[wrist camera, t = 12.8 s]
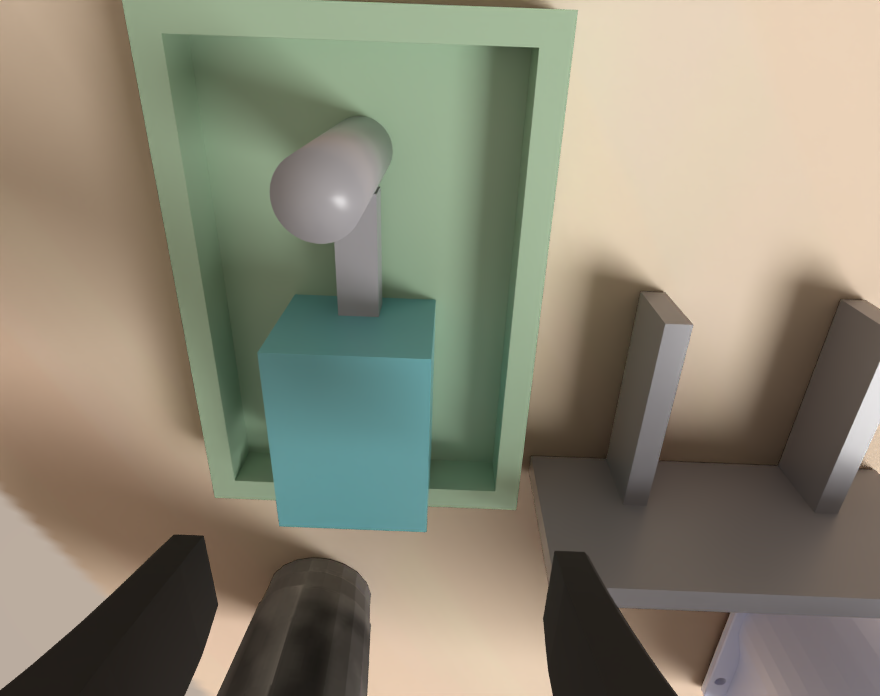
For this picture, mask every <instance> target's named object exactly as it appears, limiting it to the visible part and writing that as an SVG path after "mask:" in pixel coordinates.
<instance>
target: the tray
mask: <svg viewBox="0 0 880 696" xmlns="http://www.w3.org/2000/svg"><path fill="white" fill-rule="evenodd" d="M122 4H123V9H124V14H125V20H126V25H127V30H128V36H129V41H130V46H131V52H132V57H133V63H134V68H135V73H136V79H137V84H138V89H139V95H140V100H141V105H142V111H143V116H144V121H145V127H146V132H147V137H148V143H149V148H150V153H151V159H152V164H153V169H154V175H155V180H156V186H157V191H158V196H159V202H160V207H161V212H162V218H163V223H164V228H165V234H166V239H167V244H168V250H169V255H170V260H171V266H172V271H173V276H174V282H175V287H176V293H177V298H178V303H179V309H180V314H181V319H182V325H183V330H184V335H185V341H186V346H187V351H188V357H189V362H190V367H191V373H192V378H193V383H194V389H195V394H196V399H197V405H198V410H199V416H200V421H201V426H202V432H203V437H204V442H205V448H206V453H207V458H208V464H209V469H210V474H211V480H212V485H213V490H214V496H215V498H233V499H258V500H276V496H275V488H274V480H273V472H272V464H271V457H270V449H269V441H268V433H267V425H266V417H265V409H264V401H263V394H262V386H261V378H260V370H259V362H258V354H257V352H258V351H259V349H260V348H261V346H262V345H263V343H264V342H265V340H266V338H267V337H268V335H269V334H270V332H271V331H272V329H273V328H274V326H275V324H276V323H277V321H278V320H279V318H280V317H281V315H282V314H283V312H284V311H285V309H286V307H287V306H288V304H289V303H290V301H291V300H292V298H293V297H294V295H295V294H298V295H325V296H337V283H336V264H335V246H334V242H332V243H327V244H316V243H310V242H307V241H304V240H301V239H299V238H297V237H296V236H294V235H292V234H291V233H290V232H289V231H287V230H286V229H285V228H284V227H283V226H282V224H281V223H280V222H279V220H278V219H277V217H276V215H275V213H274V211H273V209H272V205H271V201H270V183H271V178H272V176H273V173H274V171H275V170H276V168H277V167H278V165H279V164H280V163H281V162H282V161H283V160H284V159H285V158H286V157H288V156H289V155H291V154H292V153H294V152H295V151H297V150H299V149H300V148H302V147H303V146H305V145H306V144H308V143H309V142H311V141H312V140H314V139H315V138H317V137H318V136H320V135H321V134H323V133H325V132H326V131H328V130H329V129H331V128H332V127H334V126H335V125H337V124H338V123H340V122H341V121H343V120H345V119H347V118H349V117H352V116H365V117H369V118H372V119H374V120H375V121H377V122H378V123H380V124H381V125H382V126H383V127H384V128H385V130H386V131H387V133H388V134H389V137H390V139H391V142H392V148H393V154H392V160H391V163H390V165H389V167H388V169H387V171H386V173H385V174H384V176H383V178H382V180H381V182H380V184H379V185H378V186H381V246H382V298H405V299H432V300H436V308H435V341H434V374H433V407H432V440H431V463H430V480H429V498H428V506H429V507H454V508H478V509H503V510H516V508H517V500H518V492H519V484H520V476H521V468H522V460H523V451H524V443H525V435H526V427H527V419H528V411H529V403H530V395H531V386H532V378H533V370H534V362H535V354H536V346H537V338H538V330H539V322H540V313H541V305H542V297H543V289H544V281H545V273H546V265H547V257H548V249H549V240H550V232H551V224H552V216H553V208H554V200H555V192H556V184H557V176H558V167H559V159H560V151H561V143H562V135H563V127H564V119H565V111H566V103H567V94H568V86H569V78H570V70H571V62H572V54H573V46H574V38H575V30H576V21H577V13H578V10H565V9H538V8H512V7H485V6H458V5H432V4H405V3H379V2H352V1H325V0H122Z"/></svg>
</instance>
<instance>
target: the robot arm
mask: <svg viewBox="0 0 880 696" xmlns="http://www.w3.org/2000/svg"><path fill="white" fill-rule="evenodd" d="M217 606H218V602H217V597H216V593H215V588H214V583H213V578H212V573H211V569H210V564H209V559H208V554H207V549H206V545H205V540H204V536H197V535H173V536H172V537H171V538H170V539H169V540H168V541H167V542H166V543H164V544H163V545H162V546H161V547H160V548H159V549H158V550H157V551H156V552H155V553H154V554H153V555H152V556H151V557H150V558H149V559H148V560H147V561H146V562H145V563H144V564H143V565H141V566H140V567H139V568H138V569H137V570H136V571H135V572H134V573H133V574H132V575H131V576H130V577H129V578H128V579H127V580H126V581H125V582H124V583H123V584H122V585H121V586H120V587H119V588H117V589H116V590H115V591H114V592H113V593H112V594H111V595H110V596H109V597H108V598H107V599H106V600H105V601H103V602H102V603H101V604H100V605H99V606H98V607H97V608H96V609H95V610H94V611H93V612H92V613H90V614H89V615H88V616H87V617H86V618H85V619H84V620H83V621H82V622H81V623H80V624H78V625H77V626H76V627H75V628H74V629H73V630H72V631H71V632H69V633H68V634H67V635H66V636H65V637H64V638H62V639H61V640H60V641H59V642H58V643H57V644H55V645H54V646H53V647H52V648H51V649H50V650H48V651H47V652H46V653H45V654H44V655H43V656H41V657H40V658H39V659H38V660H37V661H36V662H35V663H33V665H31V666H30V667H28V668H27V669H26V670H25V671H24V672H23V673H21V674H20V675H19V676H17V677H16V678H15V679H14V680H13V681H11V682H10V683H9V684H8V685H6V686H5V687H4V688H2V689H1V690H0V696H184V695H185V693H186V691H187V689H188V687H189V684H190V682H191V680H192V677H193V675H194V673H195V671H196V668H197V666H198V664H199V661H200V659H201V657H202V654H203V651H204V648H205V645H206V642H207V639H208V636H209V633H210V629H211V626H212V623H213V620H214V616H215V613H216V610H217ZM543 622H544V633H545V644H546V654H547V663H548V672H549V677H550V683H551V688H552V693H553V696H678V695H677V694H676V693H675V691H674V690H673V688H672V687H671V686H670V684H669V683H668V682H667V680H666V679H665V678H664V676H663V675H662V673H661V672H660V671H659V669H658V668H657V666H656V665H655V663H654V662H653V661H652V659H651V658H650V656H649V655H648V653H647V652H646V650H645V649H644V647H643V646H642V644H641V643H640V641H639V640H638V638H637V637H636V635H635V634H634V632H633V631H632V629H631V628H630V626H629V625H628V623H627V621H626V620H625V618H624V617H623V615H622V613H621V612H620V610H619V608H618V607H617V605H616V604H615V602H614V600H613V599H612V597H611V595H610V594H609V592H608V590H607V588H606V587H605V585H604V583H603V581H602V580H601V578H600V576H599V574H598V573H597V571H596V569H595V567H594V565H593V563H592V561H591V560H590V558H589V556H588V555H587V554H586V553H585V552H576V551H554V556H553V562H552V569H551V575H550V581H549V587H548V593H547V599H546V605H545V611H544V617H543ZM701 690H702V693H703V695H704V696H880V619H879V618H855V617H831V616H807V615H783V614H758V613H734V612H730V615H729V617H728V620H727V623H726V625H725V628H724V630H723V633H722V635H721V638H720V641H719V643H718V646H717V648H716V651H715V654H714V656H713V659H712V661H711V664H710V667H709V669H708V672H707V674H706V677H705V679H704V682H703V685H702V687H701Z"/></svg>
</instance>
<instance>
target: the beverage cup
mask: <svg viewBox="0 0 880 696" xmlns="http://www.w3.org/2000/svg"><path fill="white" fill-rule="evenodd" d="M370 597H371V593H370V590H369V588H368V585H367V583H366V581H365V580H364V579H363V578H362V577H361V576H360V575H359V574H358V572H356V571H354V570H353V569H351V568H350V567H348V566H346V565H345V564H342V563H339V562H336V561H333V560H330V559H320V558H308V559H301V560H296V561H293V562H291V563H289V564H286V565H284V566H283V567H282V568H281V569H279V570H278V571H277V572H276V573H275V574H274V576H273V578H272V580H271V583H270V585H269V587H268V589H267V591H266V593H265V595H264V597H263V599H262V601H261V602H260V603H259V605H258V607H257V609H256V611H255V613H254V616H253V618H252V620H251V622H250V624H249V626H248V629H247V631H246V633H245V635H244V637H243V640H242V642H241V644H240V646H239V648H238V650H237V653H236V655H235V657H234V659H233V661H232V664H231V666H230V668H229V670H228V672H227V674H226V677H225V679H224V681H223V683H222V685H221V688H220V690H219V692H218V694H217V696H367V688H368V668H369V649H370V629H371V624H370Z"/></svg>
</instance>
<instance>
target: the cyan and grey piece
mask: <svg viewBox="0 0 880 696" xmlns="http://www.w3.org/2000/svg"><path fill="white" fill-rule="evenodd" d="M392 154H393V148H392V142H391V139H390V137H389V134H388V133H387V131H386V130H385V128H384V127H383V126H382V125H381V124H380V123H378V122H377V121H375V120H374V119H372V118H369V117H365V116H352V117H349V118H347V119H345V120H343V121H341V122H340V123H338V124H337V125H335V126H334V127H332V128H331V129H329V130H328V131H326V132H325V133H323V134H321V135H320V136H318V137H317V138H315V139H314V140H312V141H311V142H309V143H308V144H306V145H305V146H303V147H302V148H300V149H299V150H297V151H295V152H294V153H292V154H291V155H289V156H288V157H286V158H285V159H284V160H283V161H282V162H281V163H280V164H279V165H278V167H277V168H276V170H275V171H274V173H273V176H272V178H271V183H270V201H271V205H272V209H273V211H274V213H275V215H276V217H277V219H278V220H279V222H280V223H281V224H282V226H283V227H284V228H285V229H286V230H287V231H289V232H290V233H291V234H292V235H294V236H296V237H297V238H299V239H301V240H304V241H307V242H310V243H316V244H327V243H332V242H334V246H335V264H336V283H337V296H325V295H298V294H295V295H294V297H293V298H292V300H291V301H290V303H289V304H288V306H287V307H286V309H285V311H284V312H283V314H282V315H281V317H280V318H279V320H278V321H277V323H276V324H275V326H274V328H273V329H272V331H271V332H270V334H269V335H268V337H267V338H266V340H265V342H264V343H263V345H262V346H261V348H260V349H259V351H258V352H257V354H258V362H259V370H260V378H261V386H262V394H263V401H264V409H265V417H266V425H267V433H268V441H269V449H270V457H271V464H272V472H273V480H274V488H275V496H276V504H277V512H278V519H279V526H284V527H309V528H335V529H360V530H385V531H411V532H427V515H428V498H429V480H430V463H431V440H432V407H433V374H434V341H435V308H436V300H432V299H405V298H382V246H381V186H378V185H379V184H380V182H381V180H382V178H383V176H384V174H385V173H386V171H387V169H388V167H389V165H390V163H391V160H392Z"/></svg>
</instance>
